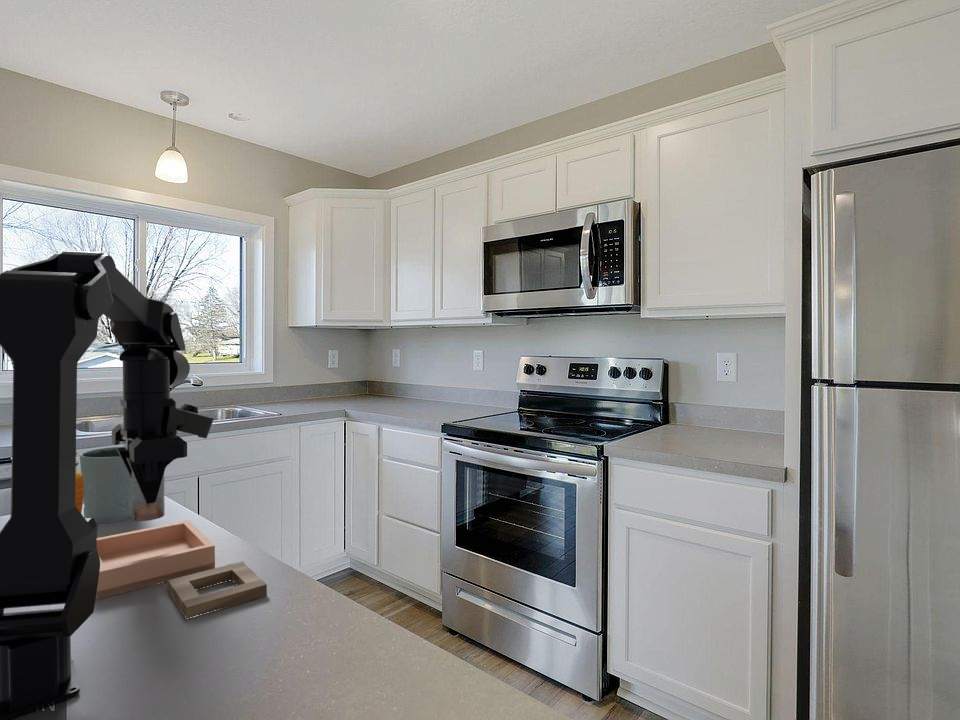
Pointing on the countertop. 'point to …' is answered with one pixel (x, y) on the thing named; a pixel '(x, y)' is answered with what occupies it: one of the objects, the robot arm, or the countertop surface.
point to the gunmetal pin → (143, 509)
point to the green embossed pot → (106, 486)
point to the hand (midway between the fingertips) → (147, 499)
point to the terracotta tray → (151, 557)
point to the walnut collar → (196, 604)
